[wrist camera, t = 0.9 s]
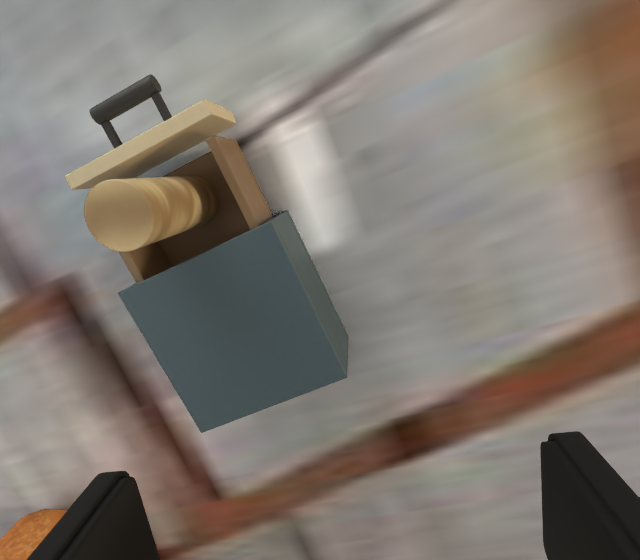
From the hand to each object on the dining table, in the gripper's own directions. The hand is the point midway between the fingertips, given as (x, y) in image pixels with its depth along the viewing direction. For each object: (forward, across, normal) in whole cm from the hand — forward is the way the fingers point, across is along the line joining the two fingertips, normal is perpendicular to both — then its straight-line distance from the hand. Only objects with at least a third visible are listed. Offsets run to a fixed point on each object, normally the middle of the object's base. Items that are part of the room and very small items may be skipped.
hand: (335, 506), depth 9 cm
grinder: (+31, +14, -7) cm, 34 cm away
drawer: (+32, +14, -8) cm, 35 cm away
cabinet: (+33, +10, +4) cm, 35 cm away
